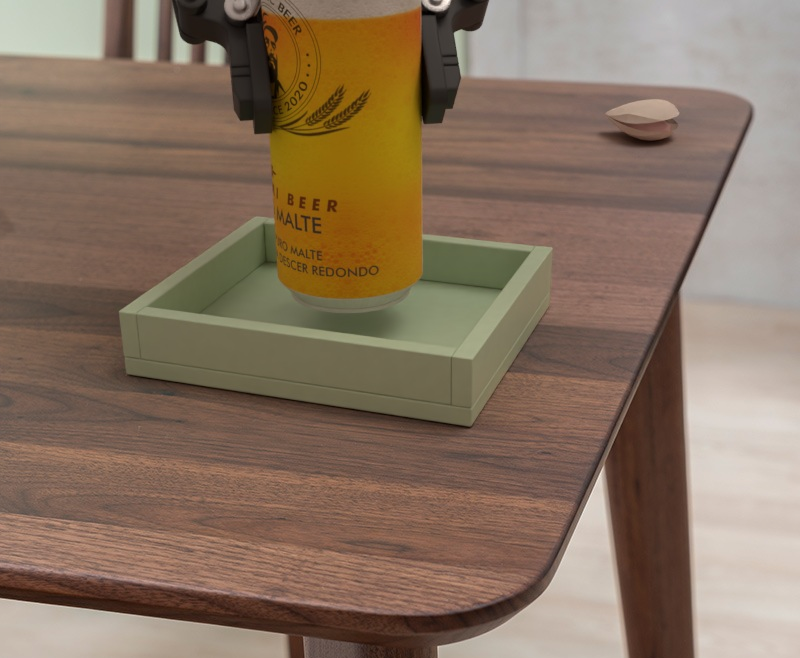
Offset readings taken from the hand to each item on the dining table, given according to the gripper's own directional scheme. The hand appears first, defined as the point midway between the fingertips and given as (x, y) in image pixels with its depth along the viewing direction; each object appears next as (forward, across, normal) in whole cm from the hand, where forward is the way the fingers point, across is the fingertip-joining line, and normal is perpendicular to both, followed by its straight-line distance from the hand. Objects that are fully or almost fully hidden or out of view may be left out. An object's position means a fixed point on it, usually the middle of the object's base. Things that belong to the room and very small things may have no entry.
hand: (349, 117), depth 48 cm
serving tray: (+6, 0, -8) cm, 10 cm away
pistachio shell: (-15, -23, -29) cm, 40 cm away
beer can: (+4, 0, -7) cm, 8 cm away
